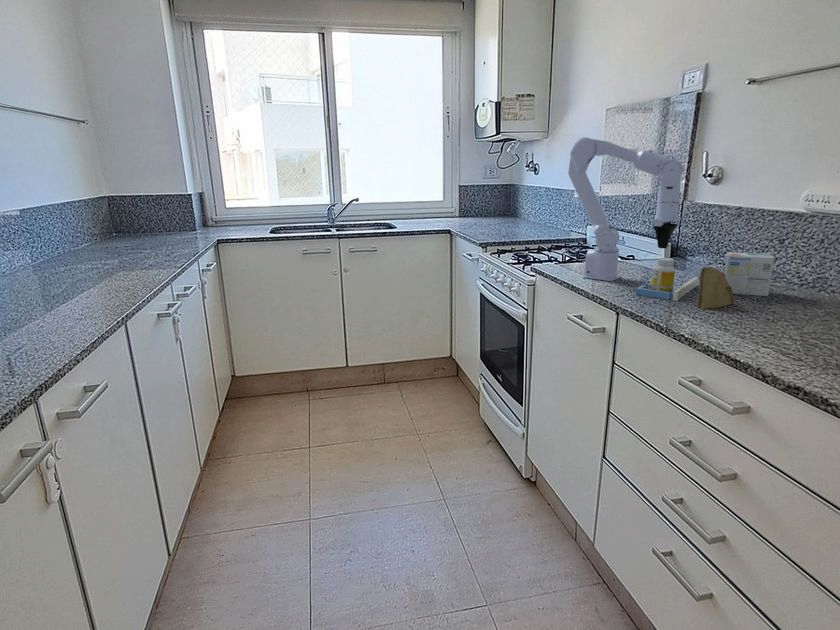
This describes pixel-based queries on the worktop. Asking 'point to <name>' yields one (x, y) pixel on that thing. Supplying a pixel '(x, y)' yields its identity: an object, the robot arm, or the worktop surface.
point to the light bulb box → (749, 273)
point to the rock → (713, 289)
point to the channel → (666, 295)
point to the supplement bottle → (663, 275)
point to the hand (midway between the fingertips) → (662, 248)
